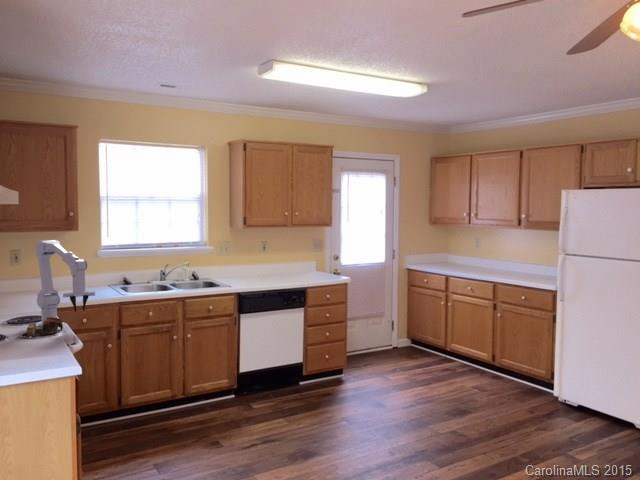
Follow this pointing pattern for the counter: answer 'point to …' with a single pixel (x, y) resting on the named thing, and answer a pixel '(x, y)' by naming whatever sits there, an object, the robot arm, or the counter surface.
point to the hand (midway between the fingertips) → (79, 310)
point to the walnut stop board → (31, 329)
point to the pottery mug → (51, 325)
